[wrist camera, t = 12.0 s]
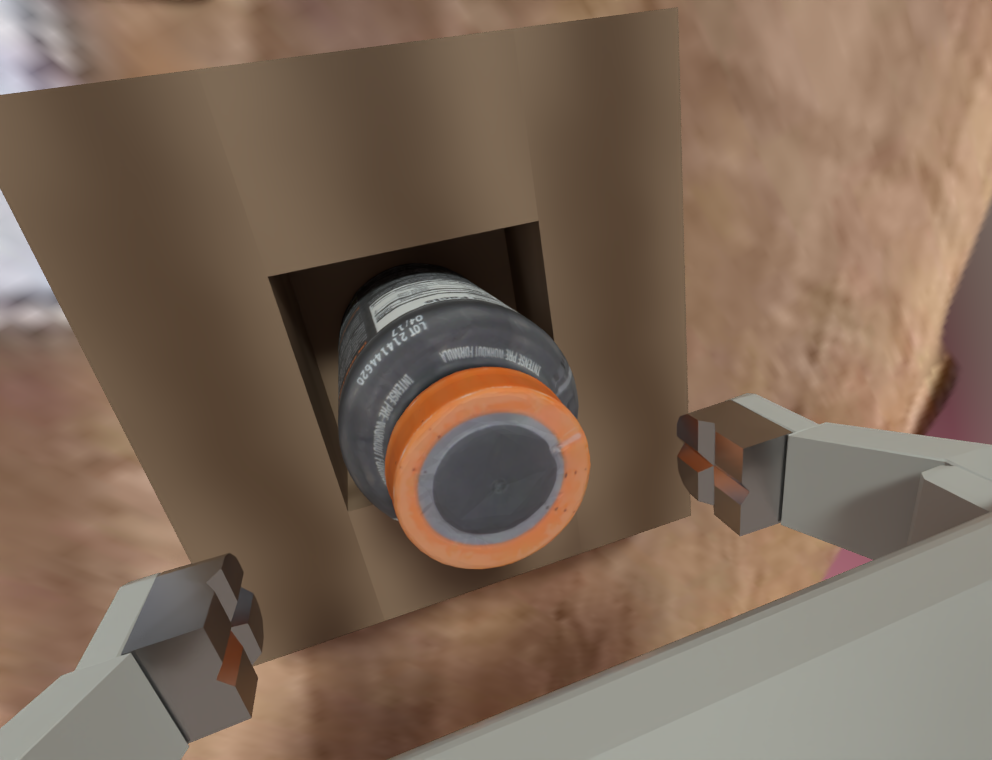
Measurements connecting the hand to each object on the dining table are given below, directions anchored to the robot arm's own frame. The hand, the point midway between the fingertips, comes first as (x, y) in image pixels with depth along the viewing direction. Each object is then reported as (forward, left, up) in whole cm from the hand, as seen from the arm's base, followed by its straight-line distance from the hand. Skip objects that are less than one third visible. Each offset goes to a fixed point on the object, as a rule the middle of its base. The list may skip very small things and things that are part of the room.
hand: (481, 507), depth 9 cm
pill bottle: (0, 0, -12) cm, 12 cm away
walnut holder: (+1, 0, -13) cm, 13 cm away
